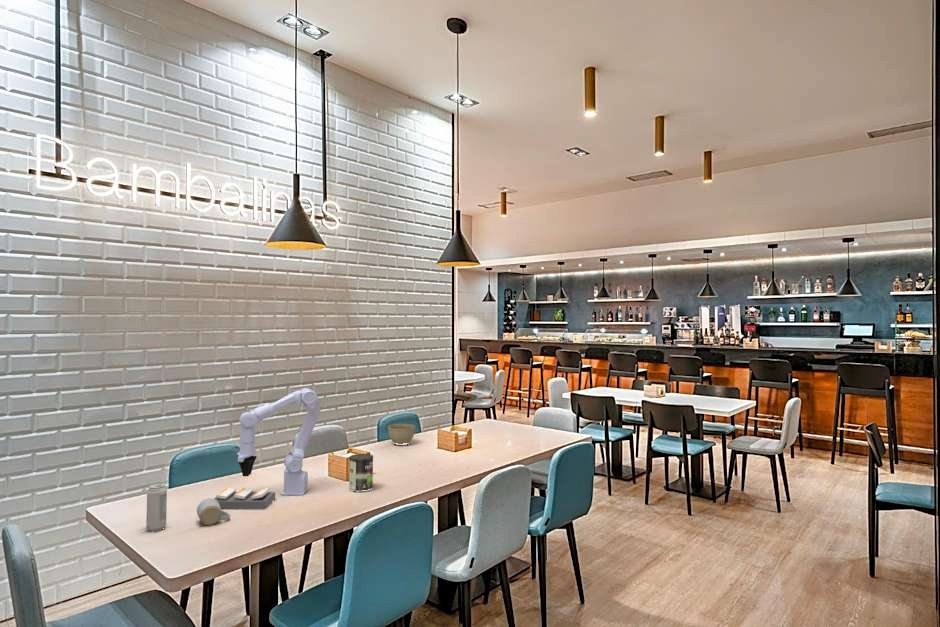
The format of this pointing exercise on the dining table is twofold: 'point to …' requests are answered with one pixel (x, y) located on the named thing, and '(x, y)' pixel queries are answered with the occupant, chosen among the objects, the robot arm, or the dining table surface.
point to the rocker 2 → (260, 493)
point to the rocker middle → (243, 493)
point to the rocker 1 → (225, 493)
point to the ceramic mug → (211, 512)
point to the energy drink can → (156, 507)
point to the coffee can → (361, 472)
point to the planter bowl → (401, 433)
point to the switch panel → (246, 501)
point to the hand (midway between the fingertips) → (246, 475)
